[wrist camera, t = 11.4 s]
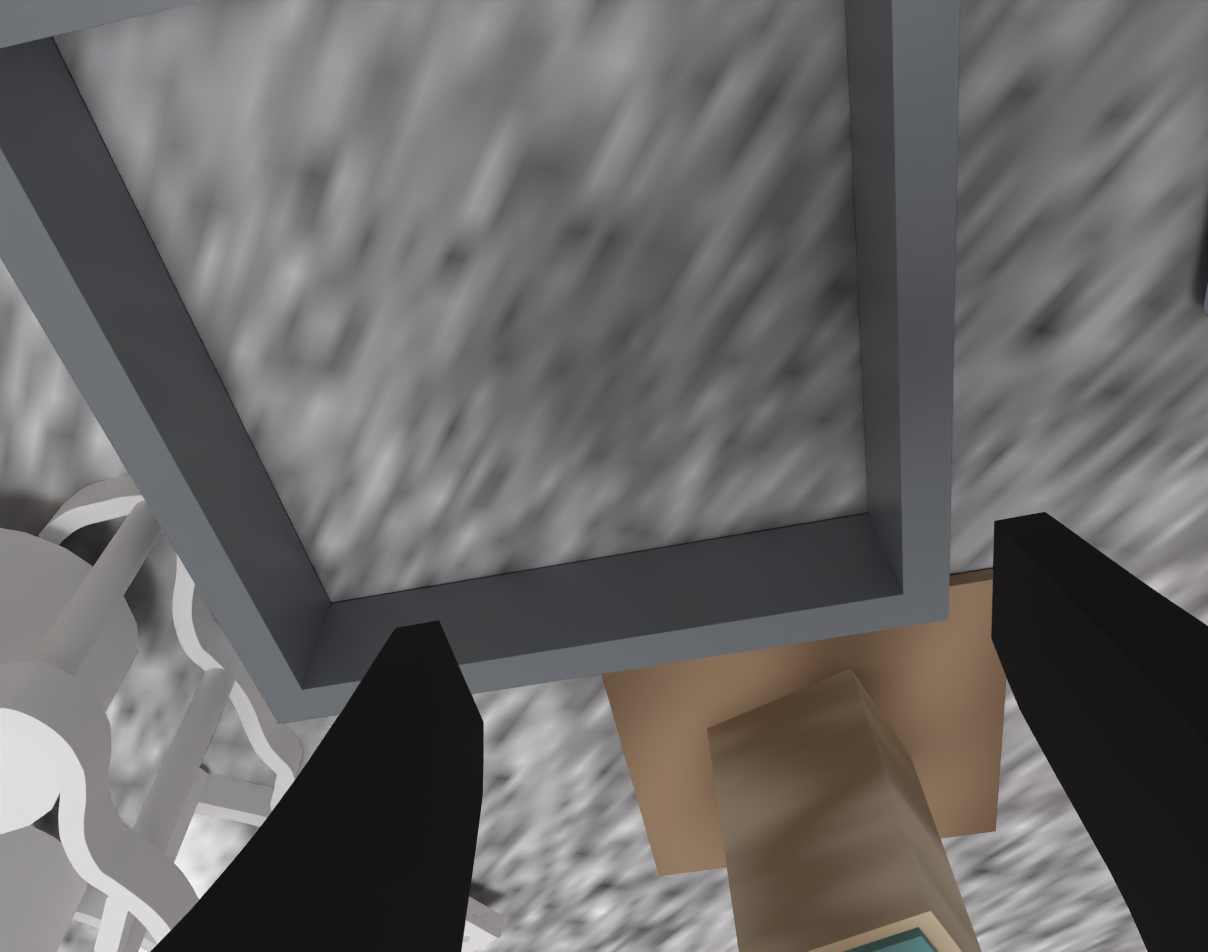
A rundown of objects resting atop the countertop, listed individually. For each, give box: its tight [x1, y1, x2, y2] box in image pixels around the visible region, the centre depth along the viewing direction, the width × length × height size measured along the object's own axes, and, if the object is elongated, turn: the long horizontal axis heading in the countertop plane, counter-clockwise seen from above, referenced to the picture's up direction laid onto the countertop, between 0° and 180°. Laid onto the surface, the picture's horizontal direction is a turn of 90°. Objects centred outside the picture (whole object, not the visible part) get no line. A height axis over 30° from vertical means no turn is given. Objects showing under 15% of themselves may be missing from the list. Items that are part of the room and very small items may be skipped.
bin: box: [0, 0, 960, 724], centre depth 18 cm, size 16×16×3 cm
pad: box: [602, 569, 1006, 876], centre depth 27 cm, size 11×11×1 cm
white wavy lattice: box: [0, 474, 303, 952], centre depth 24 cm, size 20×11×7 cm, turn 156°
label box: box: [707, 668, 981, 952], centre depth 24 cm, size 4×4×7 cm
